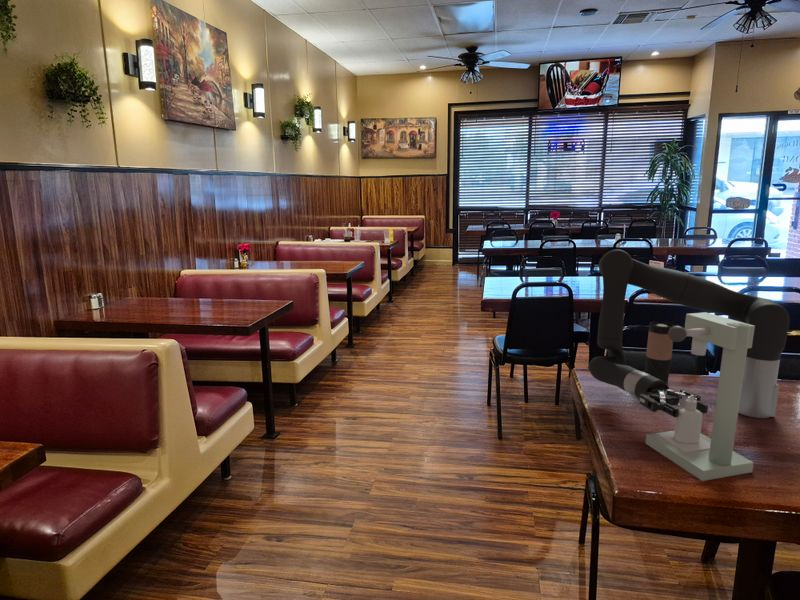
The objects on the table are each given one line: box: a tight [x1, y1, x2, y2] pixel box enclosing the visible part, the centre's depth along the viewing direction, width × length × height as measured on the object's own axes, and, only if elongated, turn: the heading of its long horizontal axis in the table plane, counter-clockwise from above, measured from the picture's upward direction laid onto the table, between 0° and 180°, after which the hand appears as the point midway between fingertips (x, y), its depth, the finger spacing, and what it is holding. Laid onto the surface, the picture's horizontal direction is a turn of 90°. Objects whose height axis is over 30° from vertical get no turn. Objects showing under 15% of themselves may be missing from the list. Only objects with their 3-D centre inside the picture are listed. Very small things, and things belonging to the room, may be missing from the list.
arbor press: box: [645, 311, 755, 482], centre depth 120 cm, size 18×20×35 cm
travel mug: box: [644, 321, 675, 385], centre depth 171 cm, size 8×8×20 cm
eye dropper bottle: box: [673, 395, 703, 444], centre depth 125 cm, size 4×6×12 cm
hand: (692, 411), depth 124 cm, fingers open, 8 cm apart
